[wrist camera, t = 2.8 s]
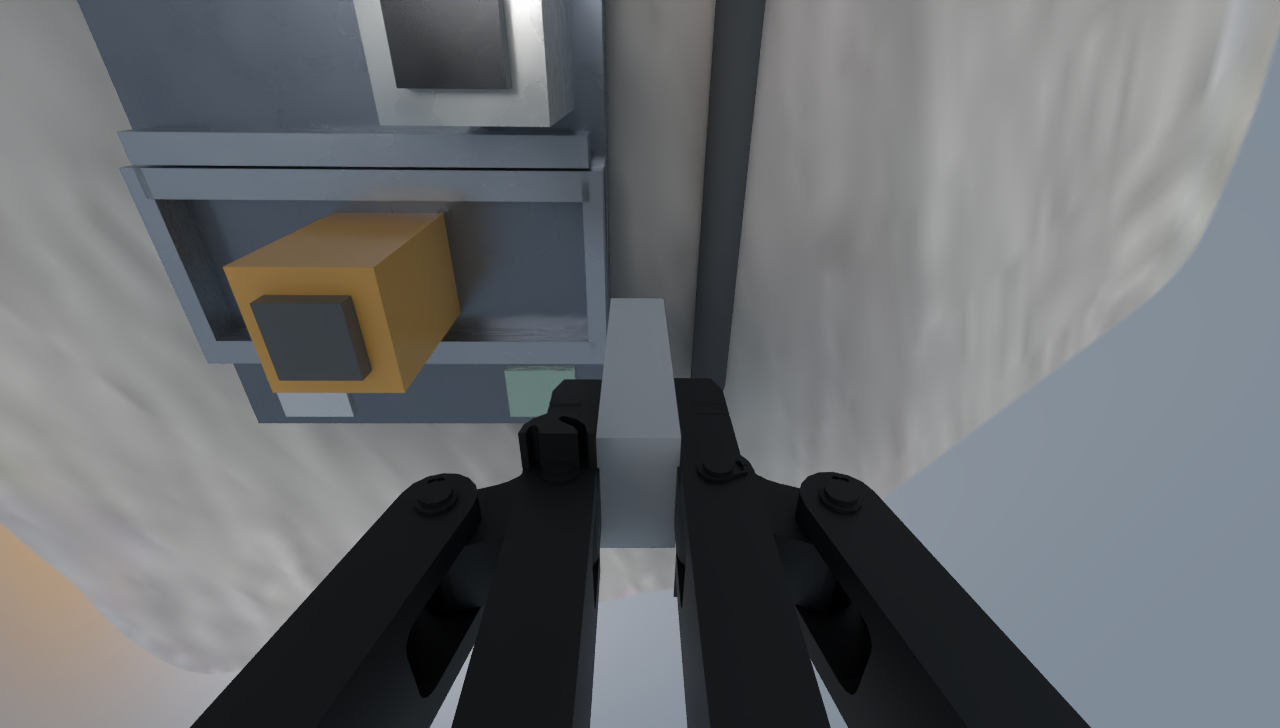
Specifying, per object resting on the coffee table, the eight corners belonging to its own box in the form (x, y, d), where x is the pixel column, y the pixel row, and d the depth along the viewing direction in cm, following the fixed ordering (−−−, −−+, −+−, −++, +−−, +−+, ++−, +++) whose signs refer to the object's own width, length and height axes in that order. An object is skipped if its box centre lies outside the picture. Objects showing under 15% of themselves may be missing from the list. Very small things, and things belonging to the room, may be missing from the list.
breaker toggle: (333, 212, 19) (206, 274, 14) (443, 213, 19) (363, 275, 14) (361, 312, 21) (260, 403, 15) (460, 312, 21) (397, 403, 16)
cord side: (718, -78, 17) (725, -90, 15) (767, -77, 17) (779, -90, 15) (688, 387, 26) (691, 405, 24) (720, 387, 26) (725, 405, 24)
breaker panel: (84, -116, 16) (-387, -272, 9) (602, -108, 16) (577, -252, 9) (284, 398, 26) (140, 536, 18) (612, 399, 26) (604, 534, 18)
